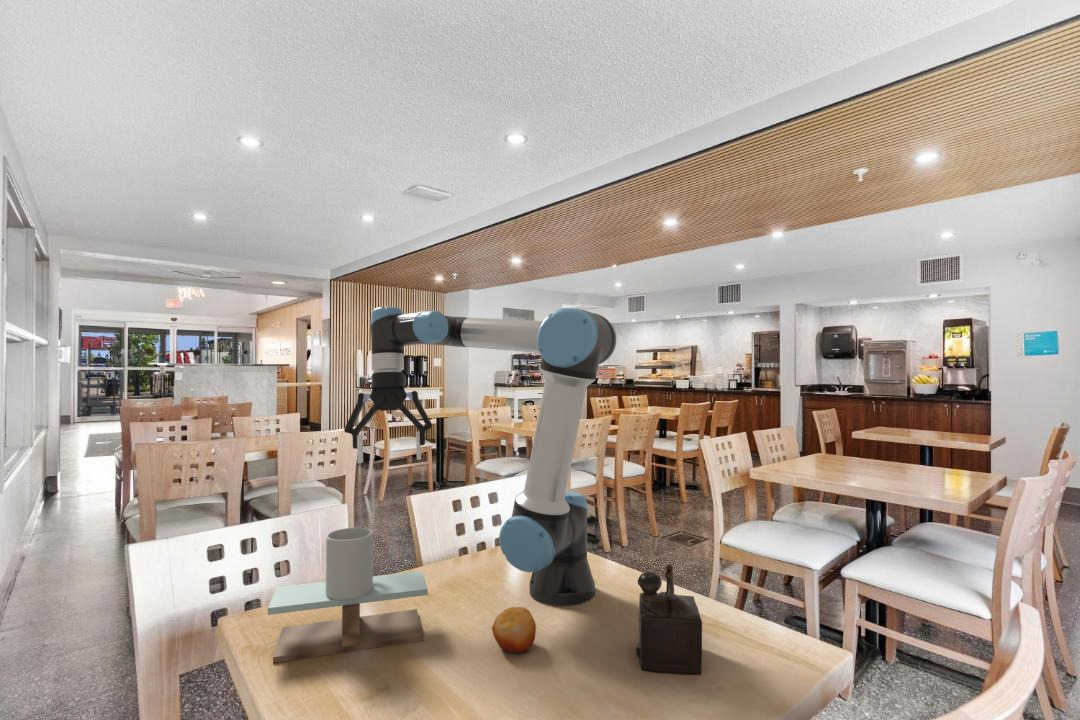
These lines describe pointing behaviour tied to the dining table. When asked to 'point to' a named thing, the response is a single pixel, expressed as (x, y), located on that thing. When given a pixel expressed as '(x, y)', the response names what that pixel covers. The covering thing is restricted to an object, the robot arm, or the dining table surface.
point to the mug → (349, 563)
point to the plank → (316, 598)
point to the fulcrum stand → (347, 634)
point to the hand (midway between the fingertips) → (389, 461)
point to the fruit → (514, 630)
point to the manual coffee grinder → (668, 628)
